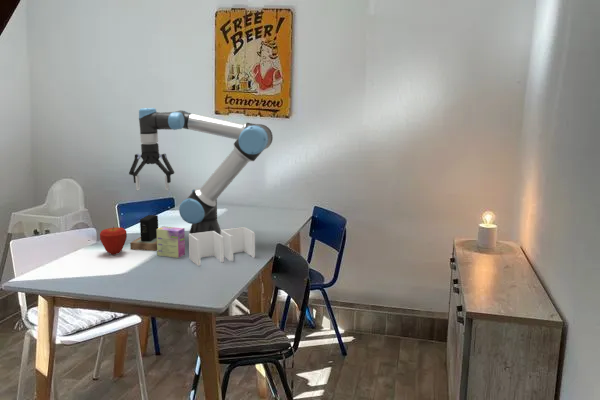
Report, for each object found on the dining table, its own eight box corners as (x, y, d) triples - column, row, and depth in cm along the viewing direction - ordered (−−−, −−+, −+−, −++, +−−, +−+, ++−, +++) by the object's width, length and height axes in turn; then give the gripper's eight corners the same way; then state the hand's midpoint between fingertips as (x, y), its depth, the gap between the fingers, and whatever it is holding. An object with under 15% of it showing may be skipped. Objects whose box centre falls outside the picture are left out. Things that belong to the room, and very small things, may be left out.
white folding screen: (244, 251, 254) (244, 227, 252) (255, 258, 245) (254, 232, 243) (189, 259, 243) (188, 233, 240) (198, 266, 233) (197, 240, 231)
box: (185, 254, 249) (184, 227, 246) (178, 258, 243) (177, 230, 241) (164, 252, 252) (163, 225, 250) (157, 255, 247) (155, 228, 244)
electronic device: (140, 241, 257) (139, 219, 255) (150, 235, 266) (149, 214, 264) (149, 242, 256) (148, 219, 254) (158, 236, 265) (157, 214, 264)
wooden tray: (168, 242, 267) (168, 235, 267) (156, 250, 254) (155, 243, 253) (144, 241, 269) (144, 234, 269) (130, 249, 256) (130, 242, 255)
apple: (120, 248, 257) (118, 222, 255) (132, 253, 249) (131, 226, 247) (96, 253, 249) (94, 226, 247) (108, 258, 242) (106, 230, 239)
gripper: (179, 142, 261) (182, 188, 265) (125, 142, 263) (129, 188, 268) (174, 143, 254) (177, 191, 258) (119, 144, 256) (123, 191, 260)
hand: (152, 190), depth 263 cm, fingers open, 13 cm apart
